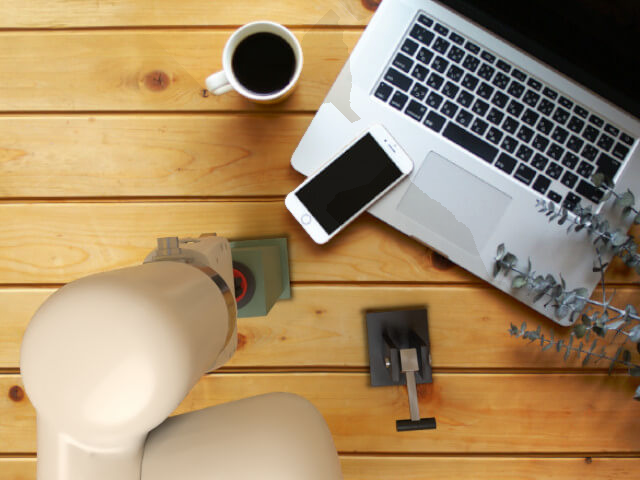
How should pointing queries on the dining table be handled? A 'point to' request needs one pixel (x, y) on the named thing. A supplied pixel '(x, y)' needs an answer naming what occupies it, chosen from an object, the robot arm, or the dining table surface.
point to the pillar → (261, 274)
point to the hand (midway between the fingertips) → (226, 285)
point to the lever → (412, 394)
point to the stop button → (243, 284)
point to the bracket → (397, 345)
